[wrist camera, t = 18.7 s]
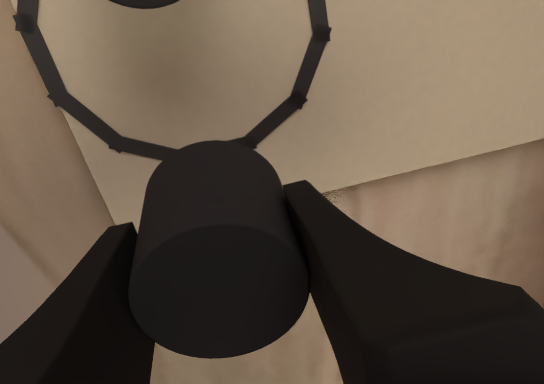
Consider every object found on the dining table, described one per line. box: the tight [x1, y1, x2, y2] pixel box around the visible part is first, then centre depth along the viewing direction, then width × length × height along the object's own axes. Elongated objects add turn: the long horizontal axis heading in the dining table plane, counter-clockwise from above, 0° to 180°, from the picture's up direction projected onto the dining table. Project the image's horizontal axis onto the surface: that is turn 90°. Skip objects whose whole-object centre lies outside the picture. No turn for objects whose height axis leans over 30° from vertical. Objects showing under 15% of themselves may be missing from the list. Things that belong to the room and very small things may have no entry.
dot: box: [128, 140, 310, 359], centre depth 12 cm, size 4×4×4 cm
